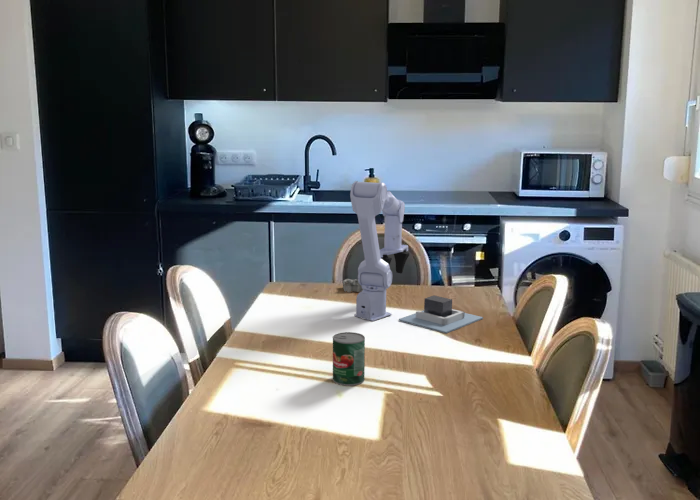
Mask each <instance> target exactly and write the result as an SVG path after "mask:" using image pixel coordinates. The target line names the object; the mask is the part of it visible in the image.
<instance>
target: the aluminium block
mask: <svg viewBox="0 0 700 500" xmlns="http://www.w3.org/2000/svg"><path fill="white" fill-rule="evenodd" d="M423 306H424V309H423V310H424V312H425V313H429V314H433V315H437V316H441V317H447V316H450V315H452V309H453V299H452V298H447V297H442V296H437V295H431V296H430V295H429V296H427V297H425V298H424V304H423Z"/></svg>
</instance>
